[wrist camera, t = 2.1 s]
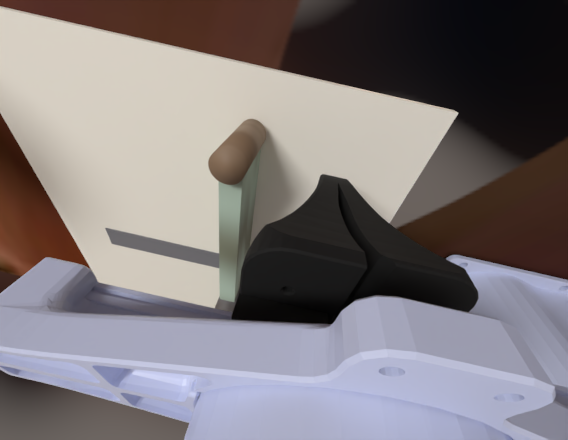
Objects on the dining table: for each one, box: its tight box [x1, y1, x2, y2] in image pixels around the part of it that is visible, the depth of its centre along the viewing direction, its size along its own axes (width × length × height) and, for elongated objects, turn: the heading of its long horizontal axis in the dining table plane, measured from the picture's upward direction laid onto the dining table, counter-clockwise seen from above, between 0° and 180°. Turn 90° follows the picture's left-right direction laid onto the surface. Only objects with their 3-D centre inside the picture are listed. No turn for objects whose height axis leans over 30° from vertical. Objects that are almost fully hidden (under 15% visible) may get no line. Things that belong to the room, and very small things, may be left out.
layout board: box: [0, 6, 458, 308], centre depth 19 cm, size 24×28×1 cm
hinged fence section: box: [208, 119, 267, 302], centre depth 13 cm, size 11×1×4 cm, turn 170°
